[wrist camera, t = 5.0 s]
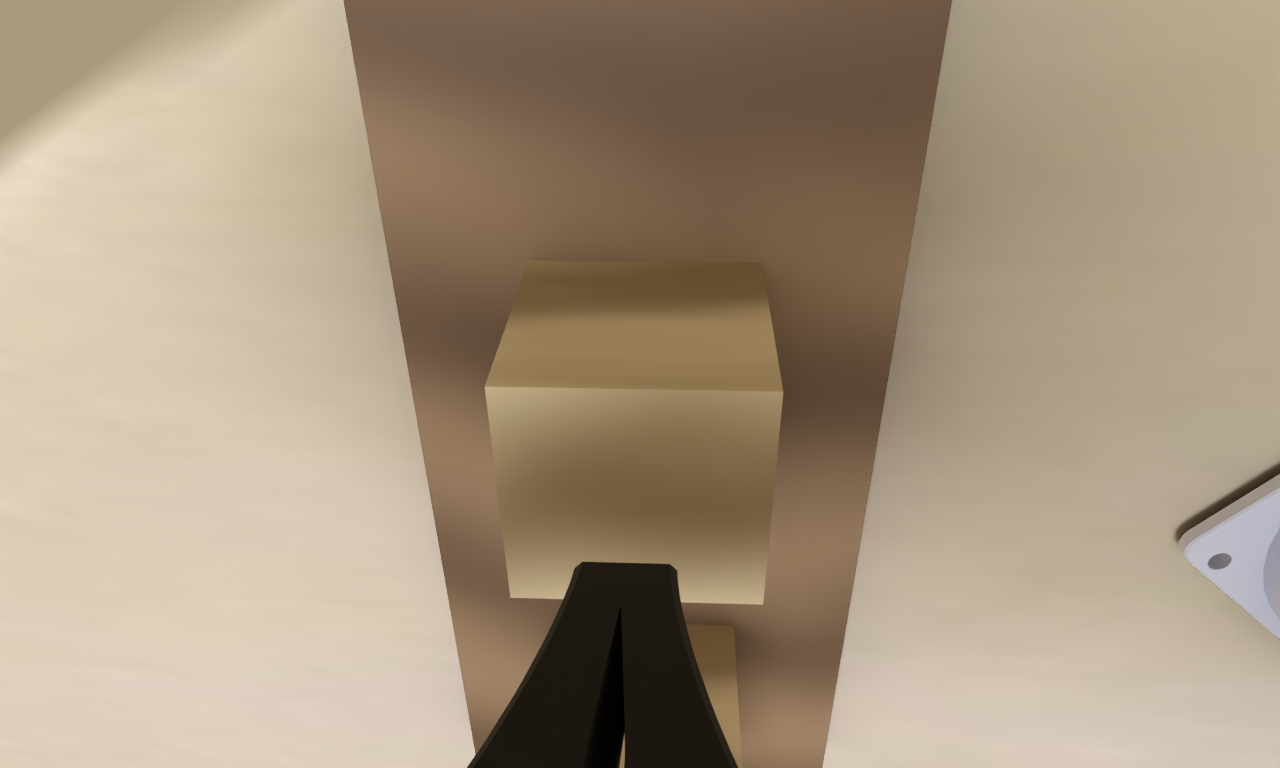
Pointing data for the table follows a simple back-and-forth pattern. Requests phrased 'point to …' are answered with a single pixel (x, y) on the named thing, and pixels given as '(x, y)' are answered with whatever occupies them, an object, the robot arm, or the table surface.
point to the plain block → (637, 425)
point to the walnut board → (657, 232)
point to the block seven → (717, 679)
